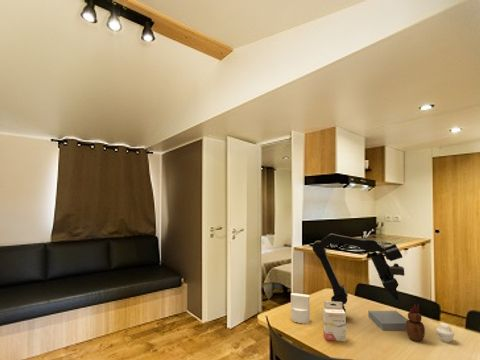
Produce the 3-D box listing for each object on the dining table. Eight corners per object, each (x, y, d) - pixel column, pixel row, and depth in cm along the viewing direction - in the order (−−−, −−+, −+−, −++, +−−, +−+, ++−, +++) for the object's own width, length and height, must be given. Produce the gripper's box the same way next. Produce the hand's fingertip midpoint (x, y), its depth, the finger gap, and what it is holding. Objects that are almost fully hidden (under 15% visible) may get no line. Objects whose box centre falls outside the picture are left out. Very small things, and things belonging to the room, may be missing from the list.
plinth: (382, 330, 126) (382, 323, 126) (368, 316, 140) (368, 310, 140) (413, 330, 126) (413, 323, 126) (396, 316, 140) (396, 310, 140)
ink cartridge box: (325, 340, 117) (325, 305, 118) (323, 334, 122) (322, 300, 123) (346, 341, 116) (345, 305, 117) (343, 335, 121) (342, 301, 122)
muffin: (438, 335, 121) (437, 318, 121) (455, 340, 117) (455, 323, 117) (435, 340, 117) (434, 323, 117) (453, 346, 112) (452, 328, 113)
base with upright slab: (289, 322, 135) (289, 296, 135) (293, 314, 143) (292, 291, 144) (308, 325, 131) (307, 299, 132) (311, 317, 139) (310, 293, 140)
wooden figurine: (422, 337, 119) (421, 301, 120) (426, 344, 114) (425, 306, 115) (404, 334, 121) (403, 299, 122) (408, 341, 116) (406, 304, 117)
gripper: (401, 263, 122) (418, 298, 119) (394, 255, 140) (409, 285, 137) (376, 271, 126) (392, 305, 123) (372, 262, 143) (386, 291, 140)
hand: (395, 296), depth 130 cm, fingers open, 9 cm apart
